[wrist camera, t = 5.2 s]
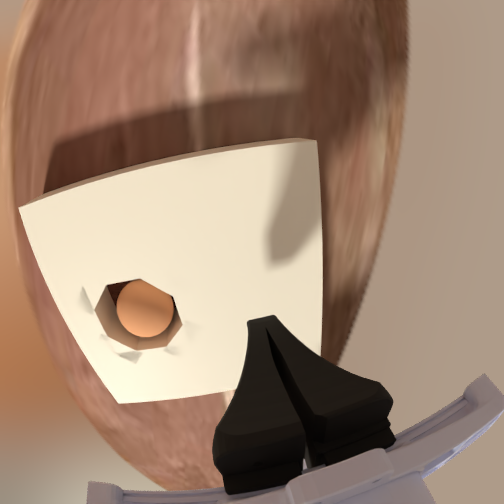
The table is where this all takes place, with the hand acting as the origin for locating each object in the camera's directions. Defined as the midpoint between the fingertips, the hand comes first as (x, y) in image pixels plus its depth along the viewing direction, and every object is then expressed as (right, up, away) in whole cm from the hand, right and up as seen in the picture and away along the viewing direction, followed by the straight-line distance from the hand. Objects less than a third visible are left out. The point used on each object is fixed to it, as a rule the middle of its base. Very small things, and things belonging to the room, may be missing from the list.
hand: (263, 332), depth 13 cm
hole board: (-5, +2, +5) cm, 7 cm away
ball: (-7, 0, +3) cm, 8 cm away
